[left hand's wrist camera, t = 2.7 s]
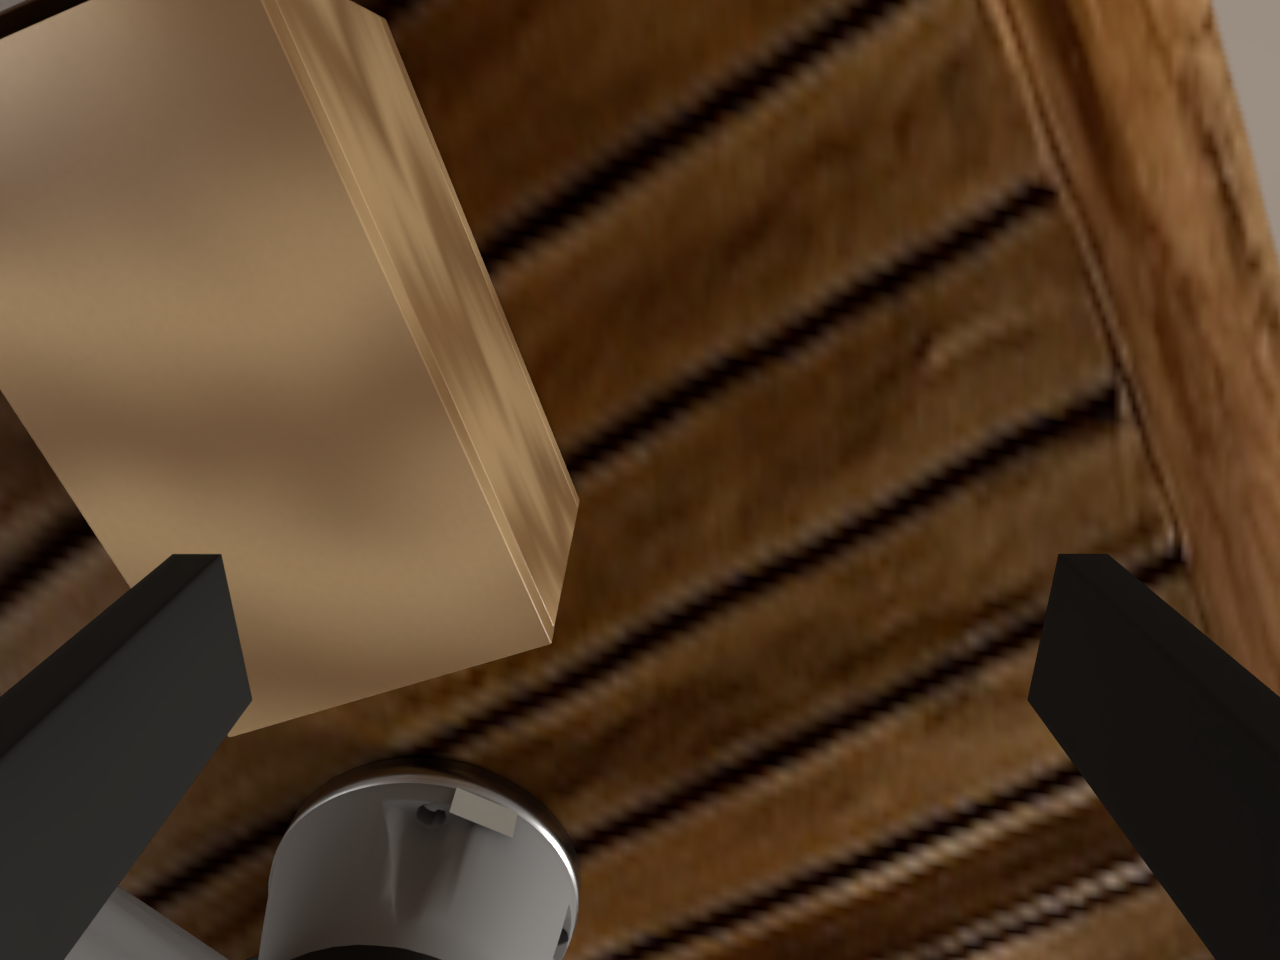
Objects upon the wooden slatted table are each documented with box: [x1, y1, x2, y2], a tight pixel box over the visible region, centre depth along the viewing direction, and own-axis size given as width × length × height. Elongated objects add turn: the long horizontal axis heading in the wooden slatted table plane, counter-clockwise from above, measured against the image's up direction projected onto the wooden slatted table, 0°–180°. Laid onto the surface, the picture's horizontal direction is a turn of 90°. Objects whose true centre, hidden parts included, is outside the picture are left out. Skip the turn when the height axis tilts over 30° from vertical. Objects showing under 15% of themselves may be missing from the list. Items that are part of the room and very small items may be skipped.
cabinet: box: [0, 0, 580, 737], centre depth 26 cm, size 19×11×11 cm, turn 19°
